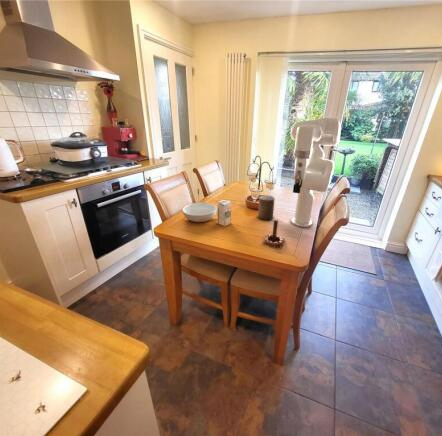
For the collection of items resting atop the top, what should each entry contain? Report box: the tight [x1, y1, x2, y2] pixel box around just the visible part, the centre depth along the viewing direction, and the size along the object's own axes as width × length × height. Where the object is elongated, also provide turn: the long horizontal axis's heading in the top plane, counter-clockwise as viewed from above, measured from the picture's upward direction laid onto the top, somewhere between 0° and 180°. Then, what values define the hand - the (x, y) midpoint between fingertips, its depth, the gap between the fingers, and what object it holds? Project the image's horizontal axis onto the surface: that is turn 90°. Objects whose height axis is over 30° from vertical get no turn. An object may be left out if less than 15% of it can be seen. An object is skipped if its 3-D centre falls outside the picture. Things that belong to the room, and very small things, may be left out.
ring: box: [264, 234, 284, 246], centre depth 122 cm, size 9×9×2 cm
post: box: [263, 218, 284, 249], centre depth 121 cm, size 9×9×13 cm
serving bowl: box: [182, 201, 218, 223], centre depth 145 cm, size 21×21×7 cm
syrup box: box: [217, 199, 232, 227], centre depth 137 cm, size 6×6×14 cm
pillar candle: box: [257, 194, 275, 222], centre depth 148 cm, size 10×10×15 cm
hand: (297, 189), depth 115 cm, fingers open, 9 cm apart
